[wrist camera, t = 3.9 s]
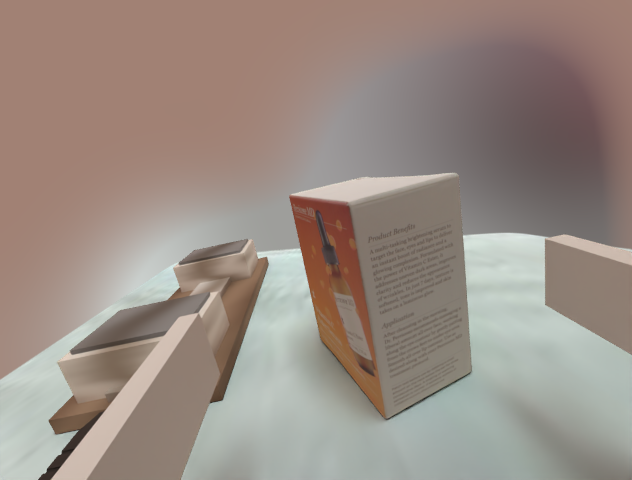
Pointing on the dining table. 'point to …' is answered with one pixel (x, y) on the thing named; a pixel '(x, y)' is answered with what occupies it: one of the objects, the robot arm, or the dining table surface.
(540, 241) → the dining table surface
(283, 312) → the dining table surface
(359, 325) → the small box
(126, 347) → the board
